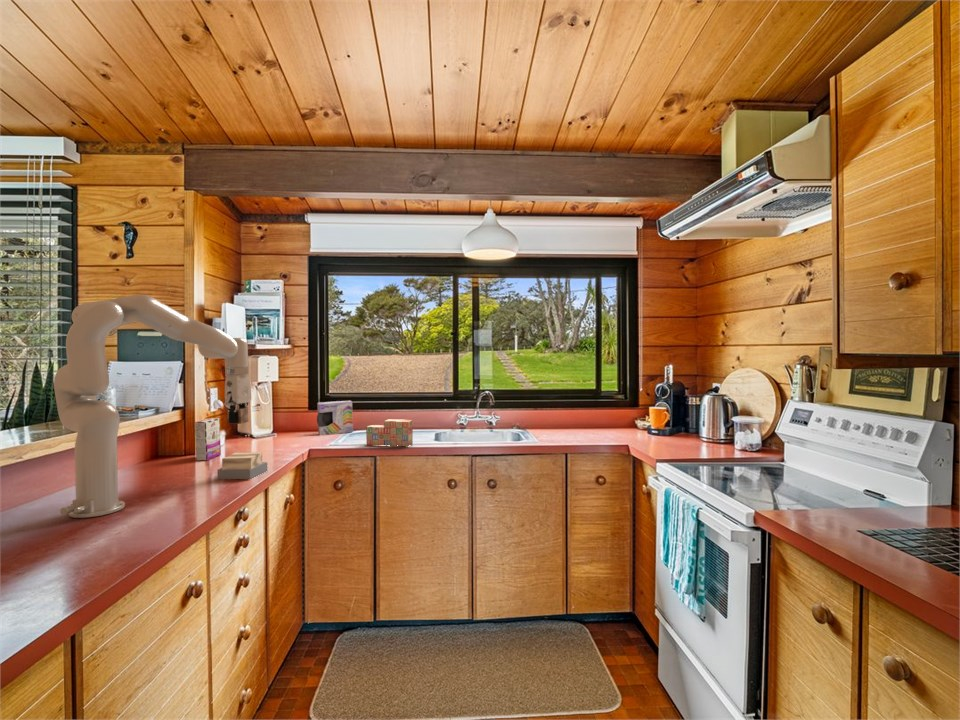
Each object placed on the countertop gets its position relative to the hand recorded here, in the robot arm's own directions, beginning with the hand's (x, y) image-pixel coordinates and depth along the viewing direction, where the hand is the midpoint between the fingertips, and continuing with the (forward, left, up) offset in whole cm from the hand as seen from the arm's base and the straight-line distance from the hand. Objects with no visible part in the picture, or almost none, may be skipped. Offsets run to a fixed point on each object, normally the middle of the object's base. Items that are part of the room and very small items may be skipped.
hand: (238, 421), depth 178 cm
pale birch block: (+1, -1, -17) cm, 17 cm away
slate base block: (+1, -1, -21) cm, 21 cm away
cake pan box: (+92, -1, -20) cm, 94 cm away
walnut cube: (0, 0, -1) cm, 1 cm away
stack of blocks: (+59, -40, -20) cm, 74 cm away
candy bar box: (+29, +31, -20) cm, 47 cm away
